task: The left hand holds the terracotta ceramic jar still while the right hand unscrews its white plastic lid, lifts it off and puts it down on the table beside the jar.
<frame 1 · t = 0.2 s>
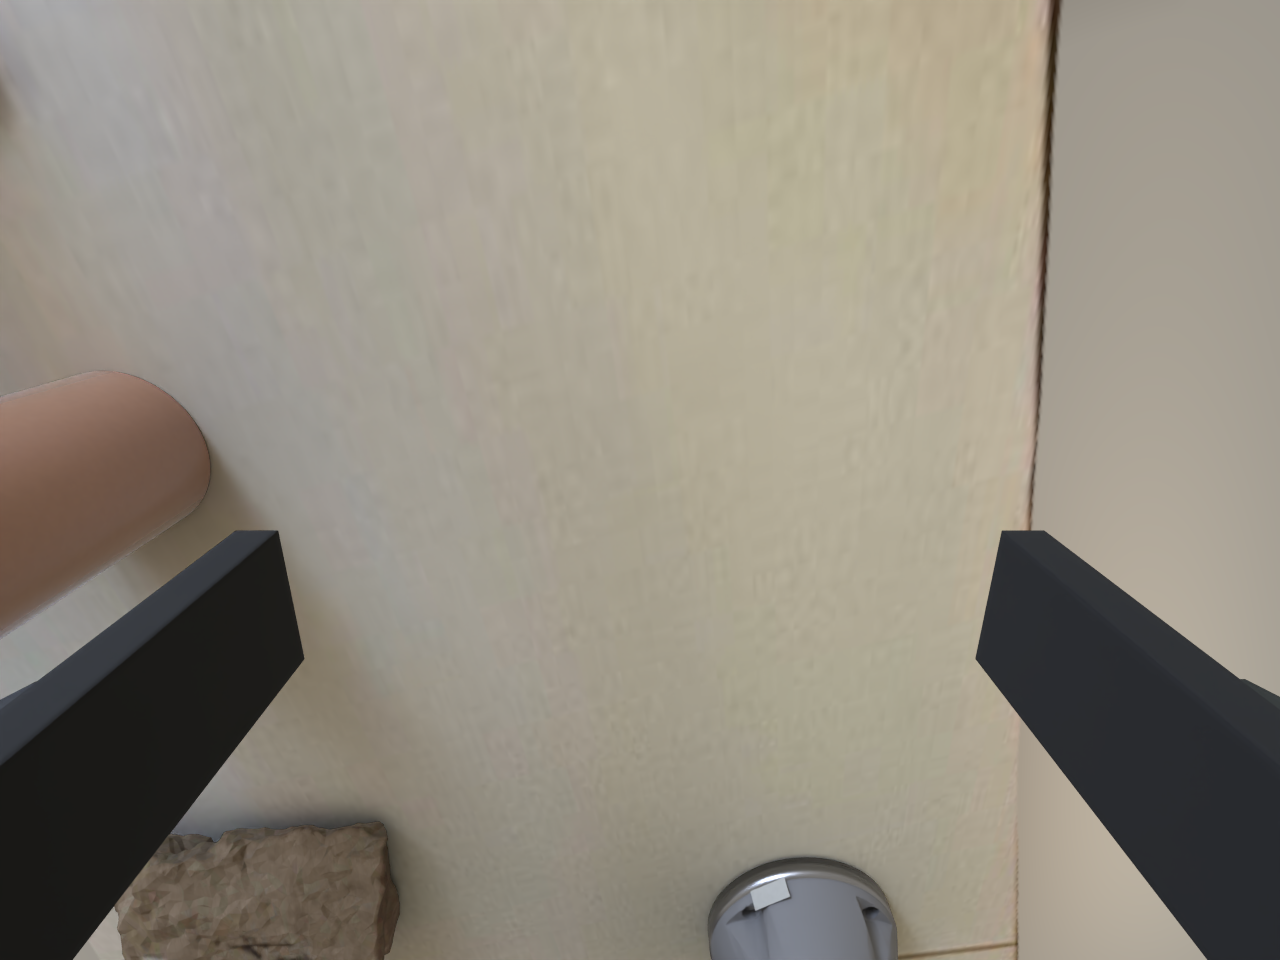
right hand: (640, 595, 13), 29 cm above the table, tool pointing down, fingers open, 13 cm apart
jar: (126, 452, 42), on the table
stone: (274, 869, 55), on the table
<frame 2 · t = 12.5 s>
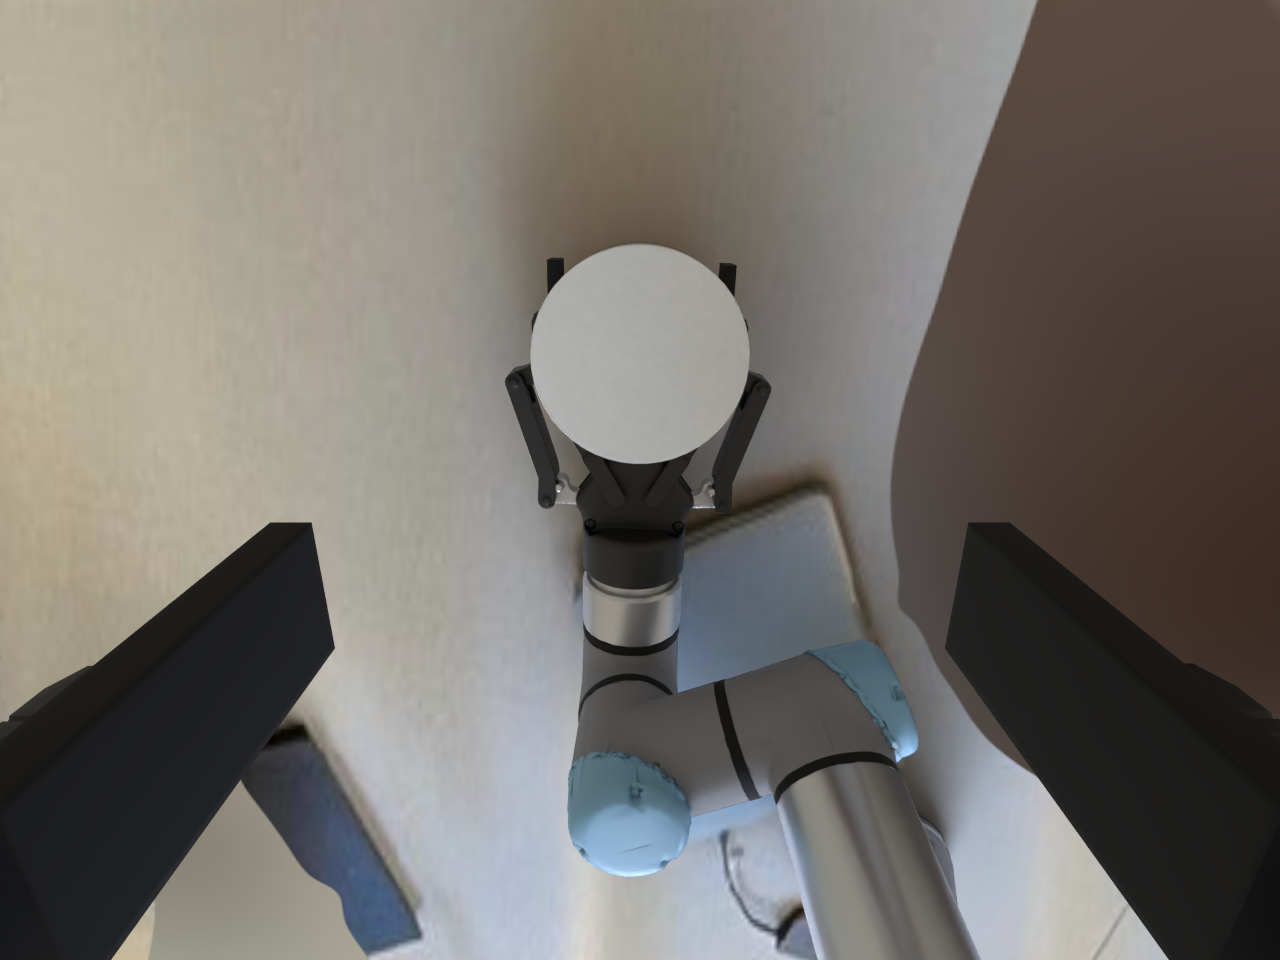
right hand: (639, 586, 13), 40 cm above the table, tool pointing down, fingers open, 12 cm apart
left hand: (641, 261, 44), fingers closed on jar, 10 cm apart
lid: (640, 359, 35), point 17 cm above the table, screwed on, not yet turned
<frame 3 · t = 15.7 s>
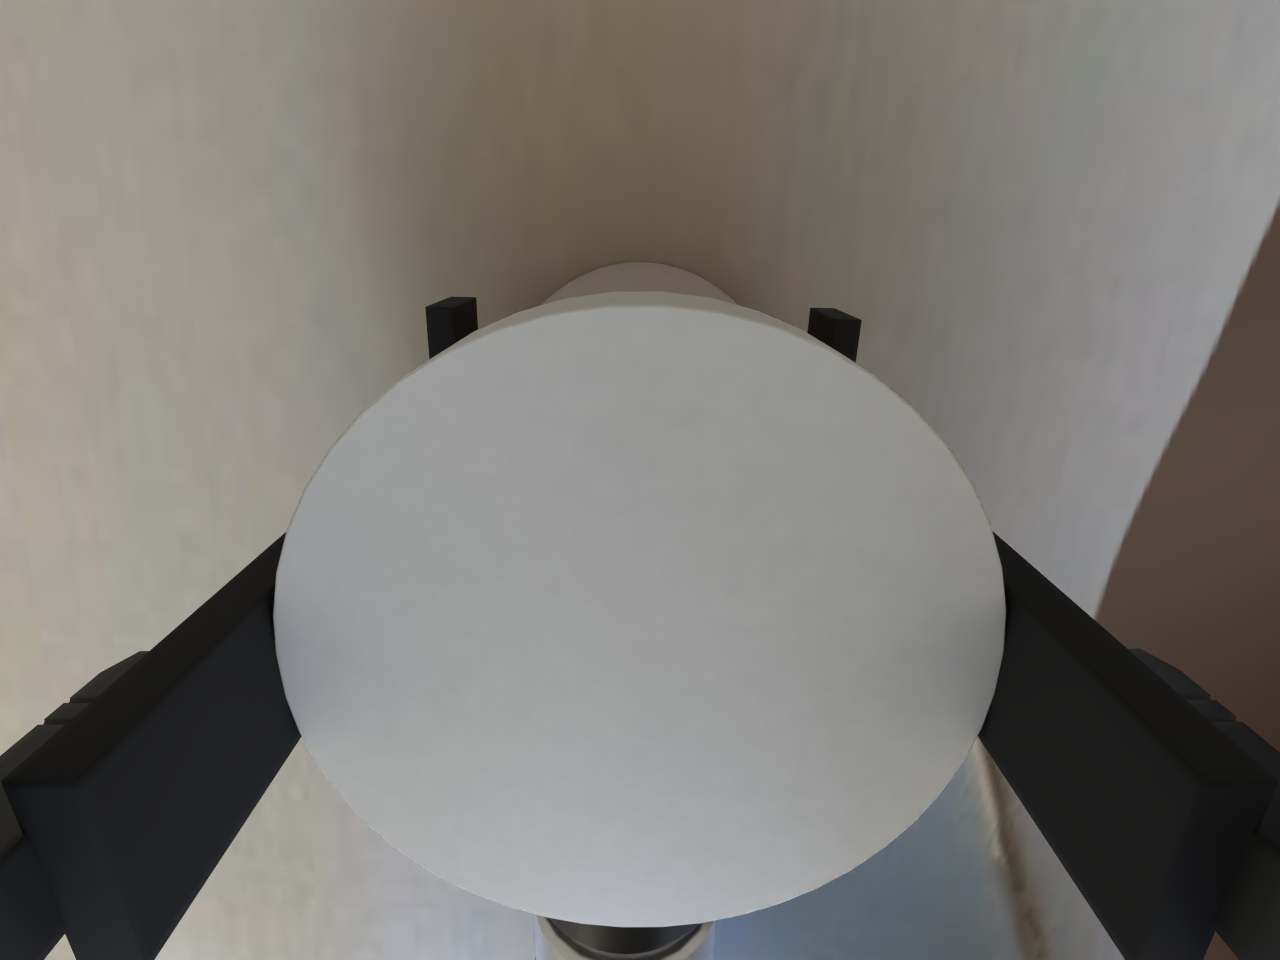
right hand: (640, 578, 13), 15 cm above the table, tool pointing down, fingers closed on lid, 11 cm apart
jar: (639, 398, 27), on the table, touching left hand
lid: (639, 660, 11), point 17 cm above the table, screwed on, not yet turned, touching right hand
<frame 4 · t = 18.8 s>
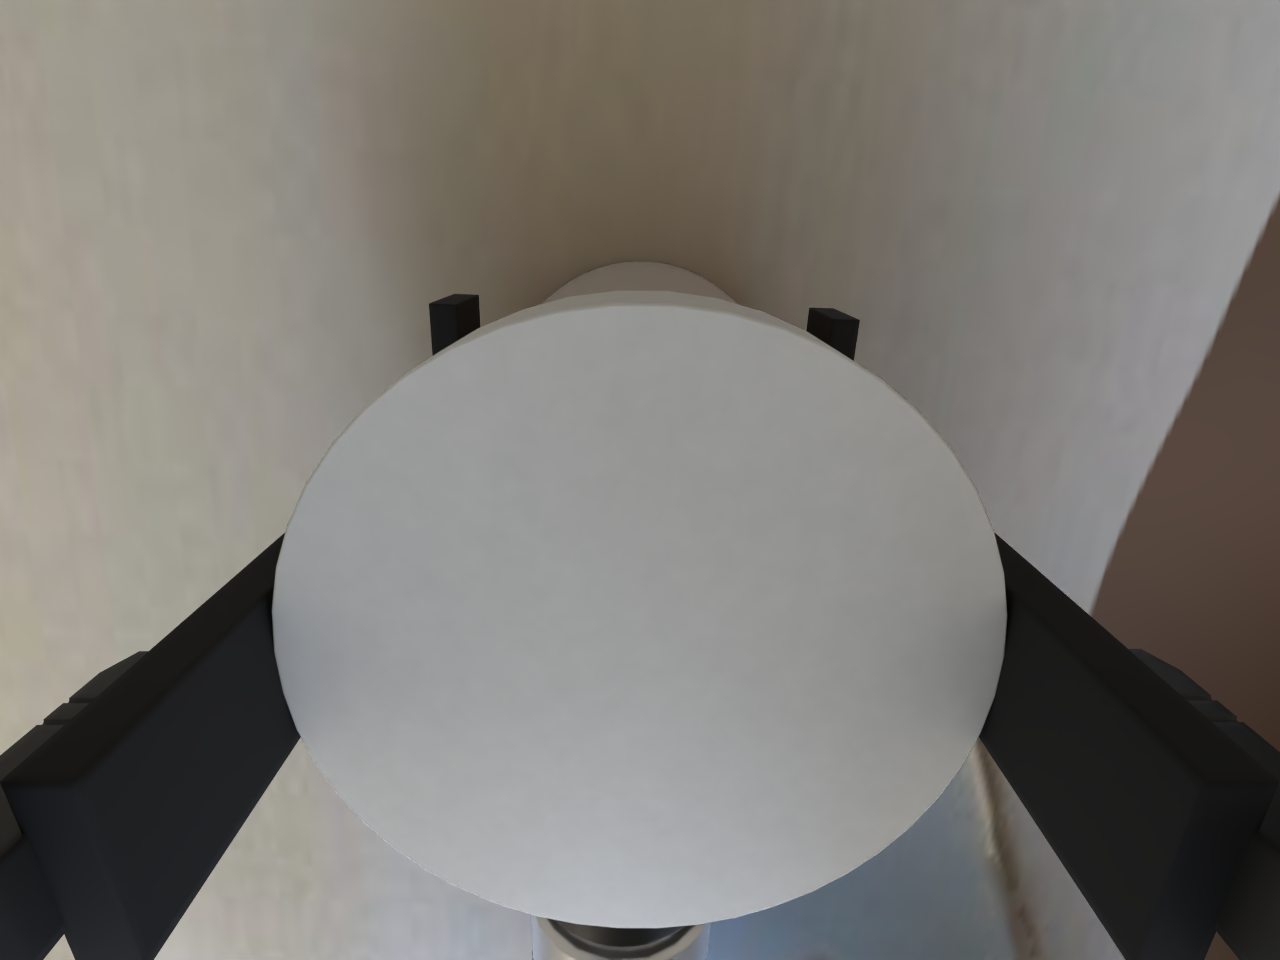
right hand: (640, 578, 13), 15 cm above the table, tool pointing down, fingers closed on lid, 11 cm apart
jar: (639, 396, 27), on the table, touching left hand
lid: (639, 661, 11), point 17 cm above the table, turned 89° so far, risen 0.3 cm, still on its thread, touching right hand
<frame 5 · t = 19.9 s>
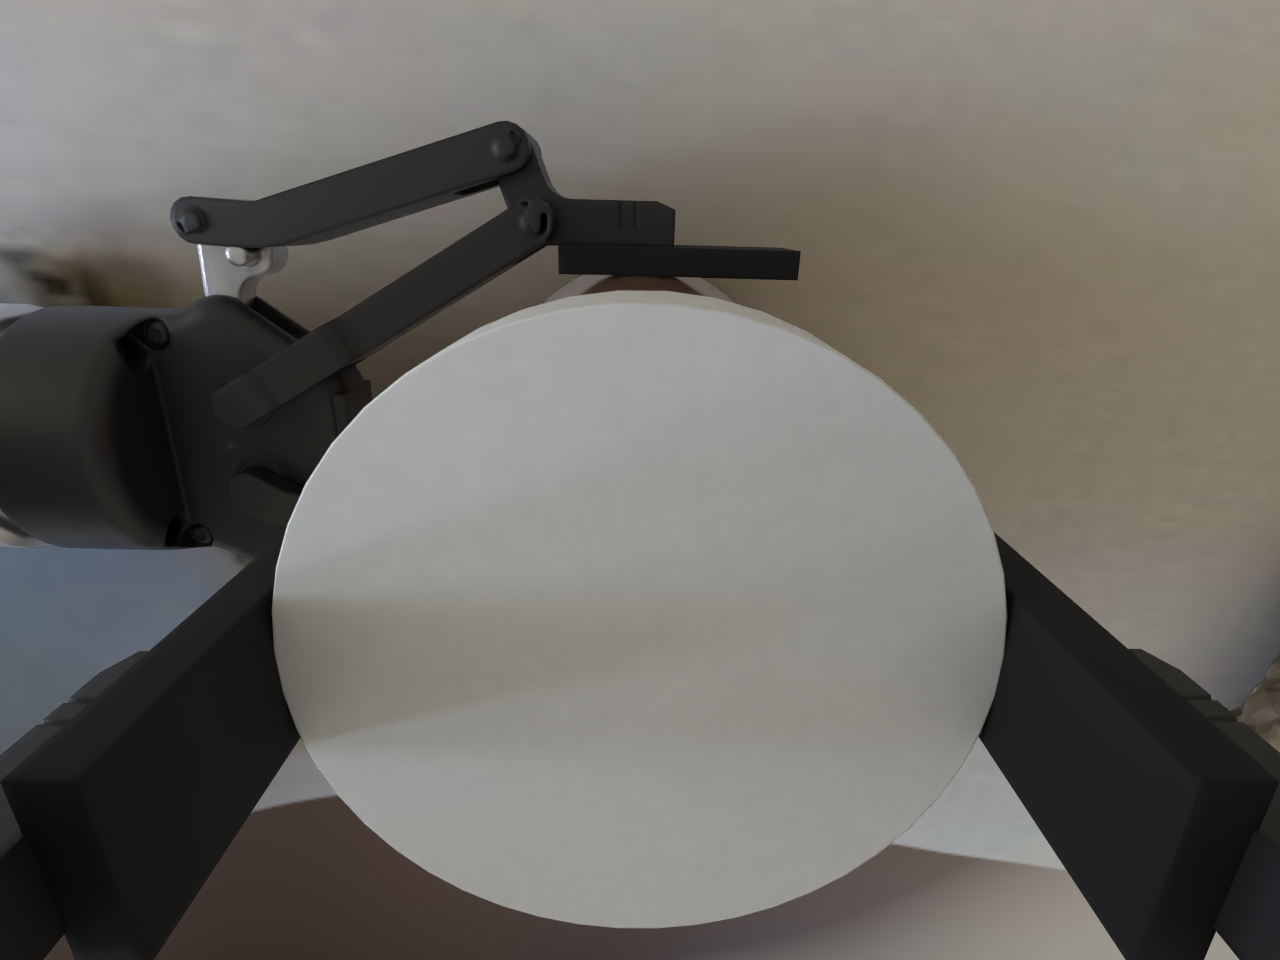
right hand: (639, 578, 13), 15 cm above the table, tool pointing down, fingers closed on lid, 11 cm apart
left hand: (771, 444, 22), fingers closed on jar, 10 cm apart
jar: (639, 396, 27), on the table, touching left hand
lid: (639, 661, 11), point 18 cm above the table, off its thread, touching right hand
when the right hand's fingers open (0 cm above the table, at t = 28.3 s): lid drops 2 cm, point 1 cm above the table.
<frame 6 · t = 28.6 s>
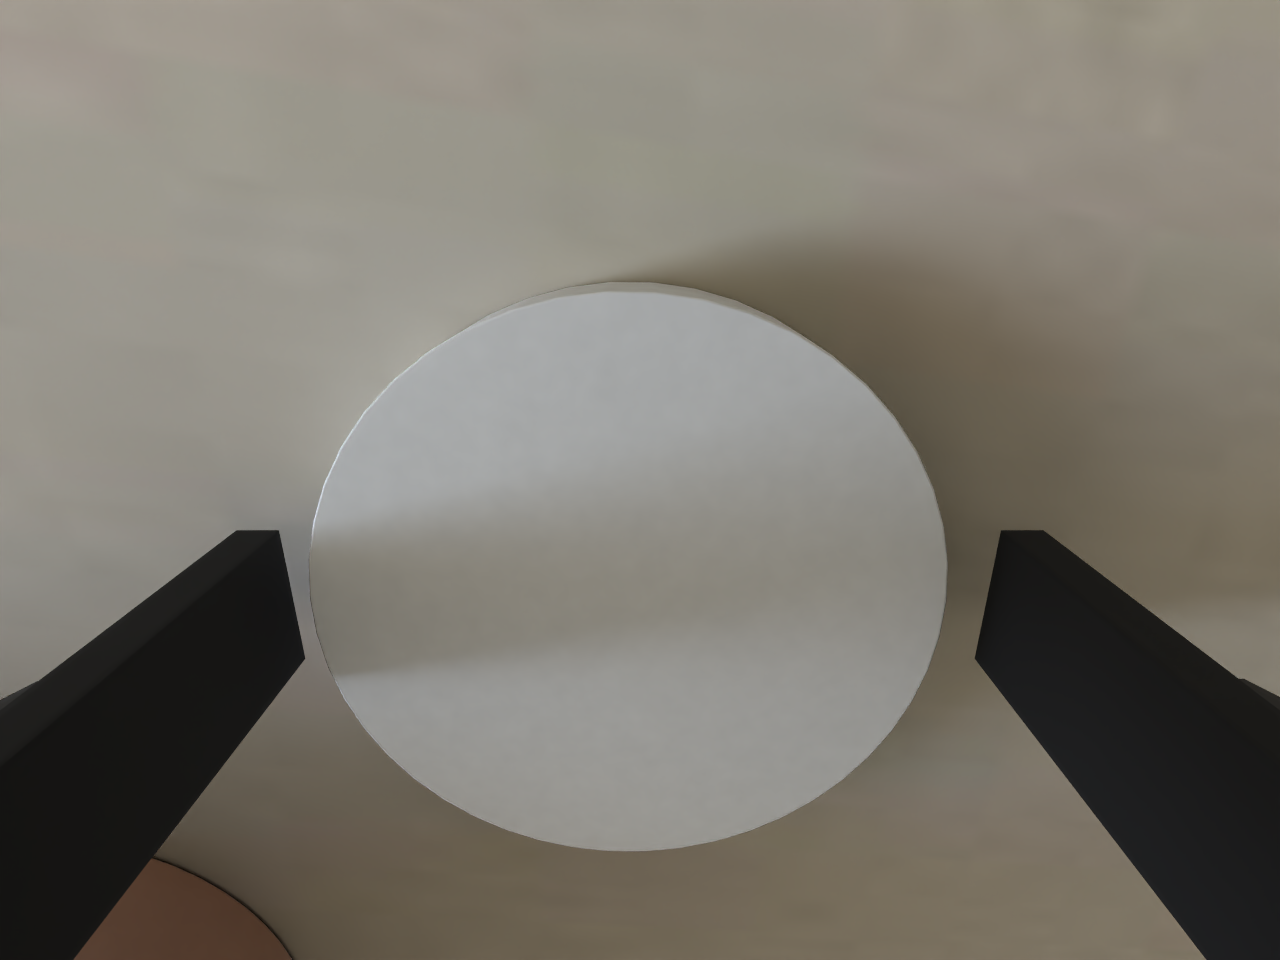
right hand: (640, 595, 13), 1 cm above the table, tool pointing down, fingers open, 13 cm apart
lid: (629, 607, 12), point 1 cm above the table, off its thread
when the left hand's fingers open (6 cm above the table, at t = 29.4 s): jar stays where it is, on the table.
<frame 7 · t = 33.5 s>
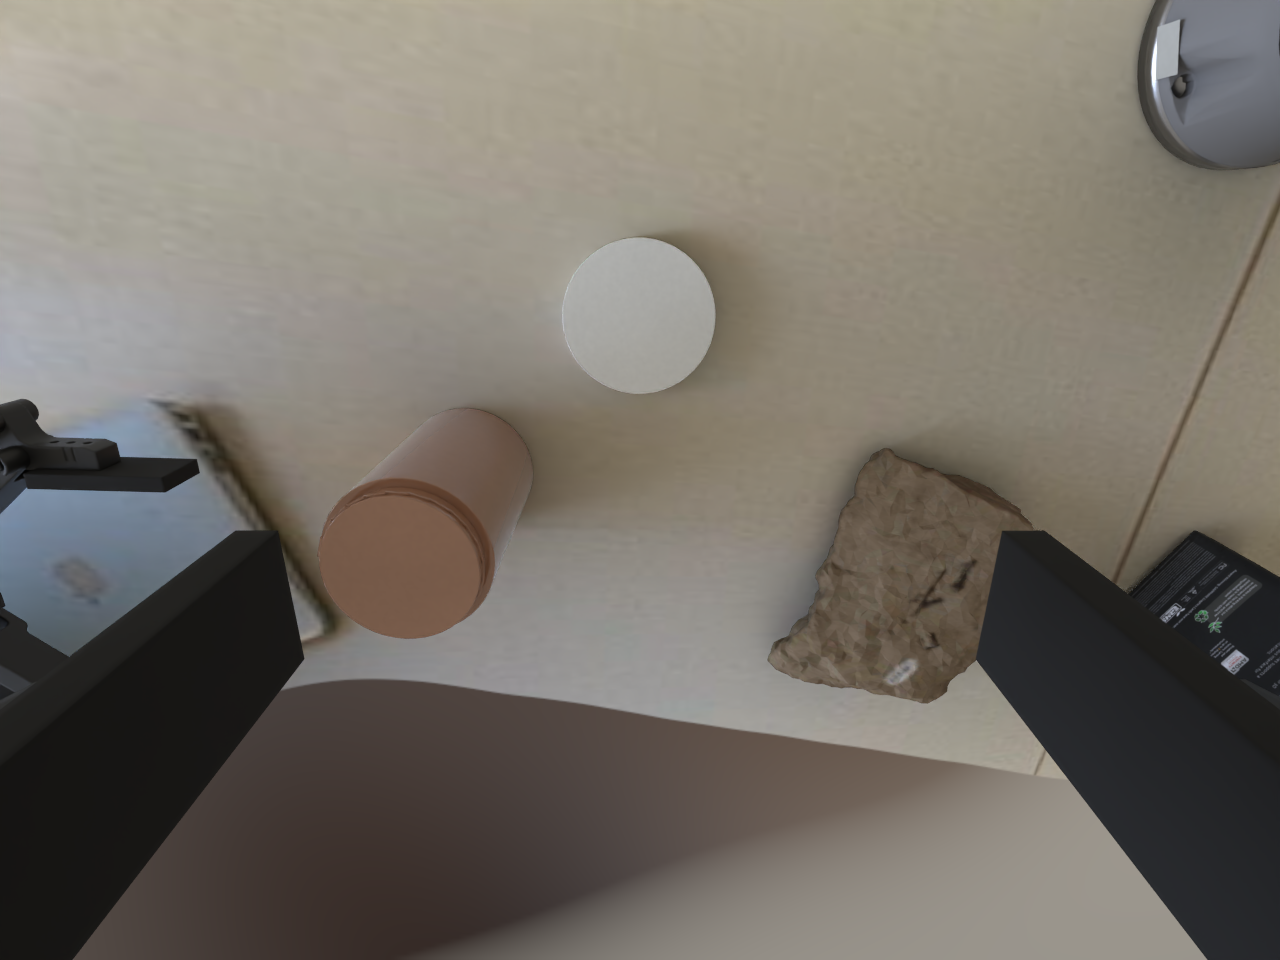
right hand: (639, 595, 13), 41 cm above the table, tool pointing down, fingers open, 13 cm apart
jar: (469, 469, 55), on the table
stone: (884, 570, 58), on the table
graphics card box: (1136, 615, 60), on the table
lid: (639, 318, 49), point 1 cm above the table, off its thread
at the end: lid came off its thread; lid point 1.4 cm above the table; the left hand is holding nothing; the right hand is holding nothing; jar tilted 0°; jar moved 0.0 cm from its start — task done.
